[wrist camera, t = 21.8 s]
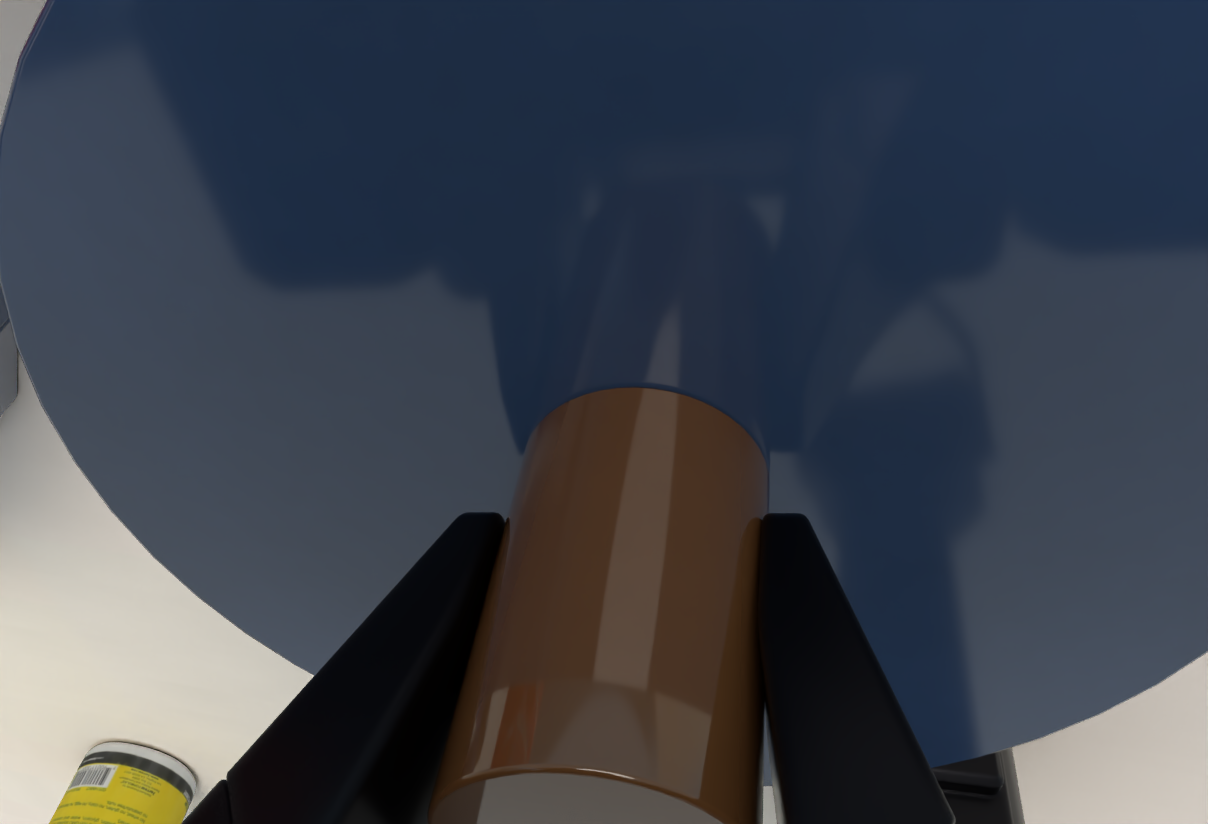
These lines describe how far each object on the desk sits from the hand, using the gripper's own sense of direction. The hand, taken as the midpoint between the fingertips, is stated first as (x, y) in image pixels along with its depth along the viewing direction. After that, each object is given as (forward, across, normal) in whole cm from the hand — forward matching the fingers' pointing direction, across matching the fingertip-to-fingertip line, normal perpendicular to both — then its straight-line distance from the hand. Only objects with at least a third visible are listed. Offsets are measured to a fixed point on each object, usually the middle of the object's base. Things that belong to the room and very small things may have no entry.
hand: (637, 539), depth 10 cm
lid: (+1, 0, 0) cm, 1 cm away
